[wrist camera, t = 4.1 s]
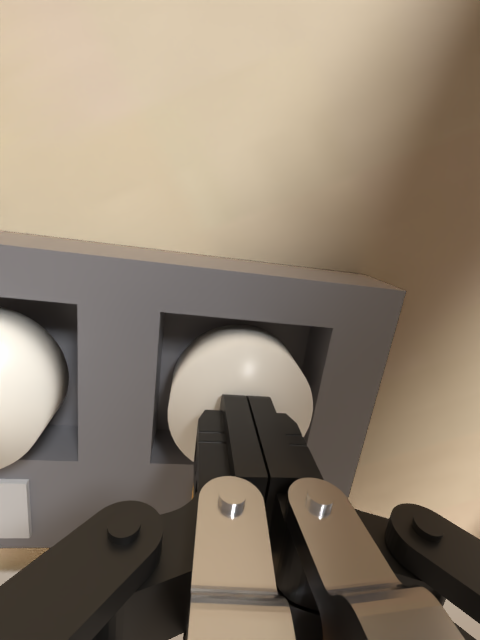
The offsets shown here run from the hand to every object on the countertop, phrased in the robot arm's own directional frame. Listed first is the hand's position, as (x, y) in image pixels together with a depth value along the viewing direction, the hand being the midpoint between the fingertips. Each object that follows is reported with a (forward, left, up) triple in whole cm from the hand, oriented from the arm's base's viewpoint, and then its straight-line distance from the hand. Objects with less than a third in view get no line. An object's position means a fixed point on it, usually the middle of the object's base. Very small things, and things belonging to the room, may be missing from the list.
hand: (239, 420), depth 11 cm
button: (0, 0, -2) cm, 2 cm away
